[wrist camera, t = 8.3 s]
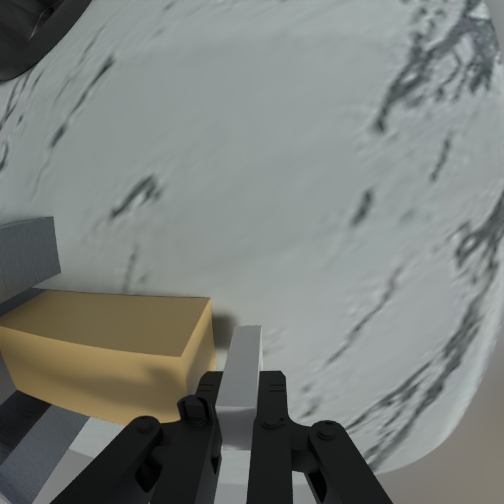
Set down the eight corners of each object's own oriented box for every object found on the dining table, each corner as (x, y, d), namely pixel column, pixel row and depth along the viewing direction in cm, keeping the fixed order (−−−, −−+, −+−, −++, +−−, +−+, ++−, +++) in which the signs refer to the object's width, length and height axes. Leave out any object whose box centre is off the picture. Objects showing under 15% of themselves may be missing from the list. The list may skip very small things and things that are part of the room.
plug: (12, 286, 18) (-71, 330, 8) (210, 297, 17) (152, 415, 7) (26, 338, 19) (-43, 393, 9) (216, 366, 18) (181, 492, 8)
